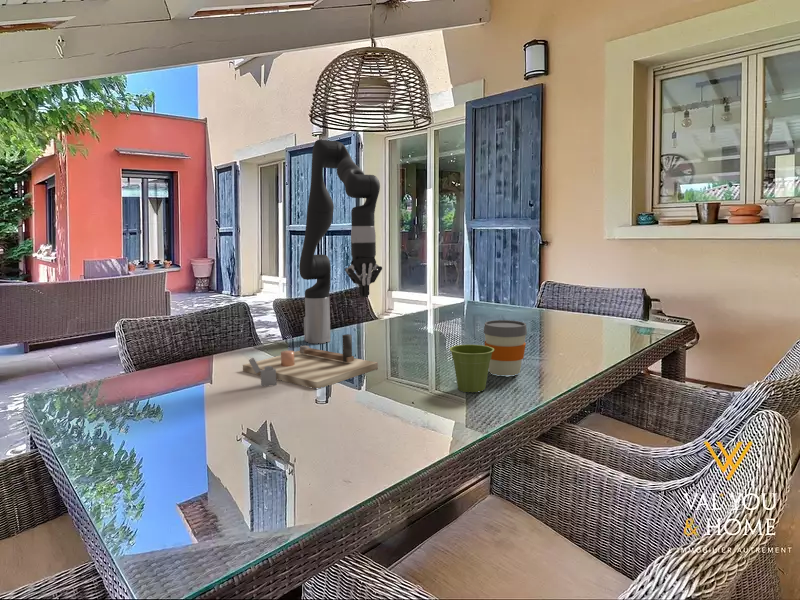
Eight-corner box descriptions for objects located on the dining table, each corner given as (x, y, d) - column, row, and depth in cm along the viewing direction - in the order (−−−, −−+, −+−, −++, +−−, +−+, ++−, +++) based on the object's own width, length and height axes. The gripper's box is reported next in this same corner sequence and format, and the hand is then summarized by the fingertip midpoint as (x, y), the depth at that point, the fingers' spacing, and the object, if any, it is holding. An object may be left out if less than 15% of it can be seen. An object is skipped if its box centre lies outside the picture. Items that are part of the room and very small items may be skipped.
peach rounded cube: (278, 365, 163) (277, 352, 163) (288, 362, 167) (288, 349, 166) (287, 367, 161) (286, 354, 160) (297, 364, 164) (296, 351, 164)
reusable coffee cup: (494, 365, 169) (495, 318, 167) (532, 371, 161) (533, 322, 159) (475, 374, 159) (476, 324, 157) (515, 381, 151) (516, 329, 149)
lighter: (276, 383, 151) (275, 355, 150) (276, 385, 150) (275, 357, 148) (250, 385, 149) (248, 357, 148) (250, 387, 148) (248, 359, 147)
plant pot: (500, 387, 146) (501, 346, 144) (482, 399, 136) (483, 355, 135) (461, 381, 152) (461, 342, 151) (441, 392, 142) (441, 350, 141)
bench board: (242, 371, 164) (242, 364, 164) (305, 354, 185) (305, 349, 185) (317, 389, 145) (316, 382, 145) (377, 368, 166) (377, 362, 166)
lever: (298, 352, 176) (297, 328, 175) (304, 351, 178) (304, 327, 177) (347, 362, 163) (347, 336, 162) (354, 360, 165) (354, 335, 164)
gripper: (373, 240, 171) (374, 294, 174) (338, 241, 163) (339, 297, 165) (388, 240, 165) (388, 296, 168) (351, 241, 157) (353, 300, 160)
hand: (364, 297), depth 167 cm, fingers closed
